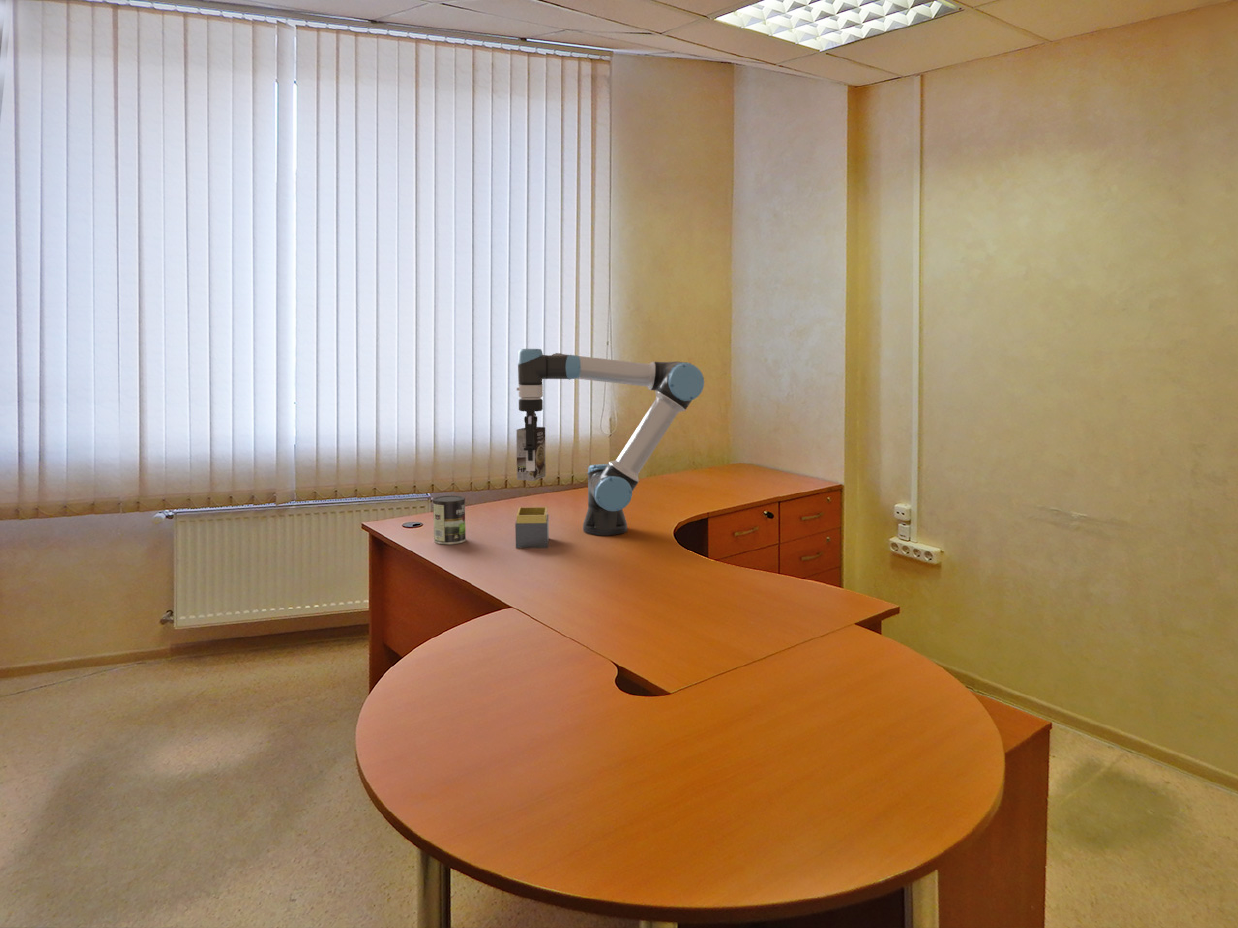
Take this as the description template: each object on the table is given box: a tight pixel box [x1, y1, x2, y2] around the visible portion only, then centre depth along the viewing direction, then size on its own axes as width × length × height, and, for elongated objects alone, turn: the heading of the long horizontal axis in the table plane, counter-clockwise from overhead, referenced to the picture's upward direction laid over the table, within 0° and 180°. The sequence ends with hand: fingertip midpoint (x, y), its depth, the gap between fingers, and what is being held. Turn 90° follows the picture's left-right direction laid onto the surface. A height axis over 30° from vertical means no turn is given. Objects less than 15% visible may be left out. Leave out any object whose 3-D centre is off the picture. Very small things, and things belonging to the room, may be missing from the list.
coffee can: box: [432, 495, 467, 545], centre depth 274 cm, size 10×10×14 cm
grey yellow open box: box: [514, 506, 550, 549], centre depth 272 cm, size 10×12×10 cm
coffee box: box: [516, 426, 547, 482], centre depth 268 cm, size 9×6×16 cm
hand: (531, 467), depth 269 cm, fingers closed on coffee box, 10 cm apart
